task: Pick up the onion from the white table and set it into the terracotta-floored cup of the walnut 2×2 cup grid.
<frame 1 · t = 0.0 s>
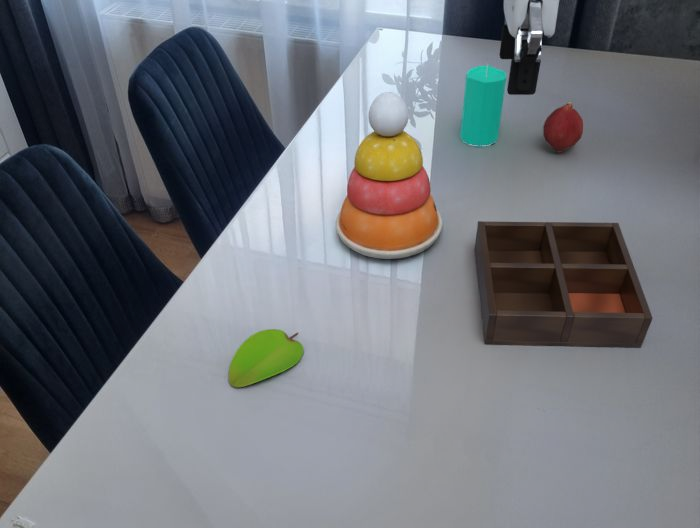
hand: (516, 75, 83), 19 cm above the table, tool pointing down, fingers open, 9 cm apart
stacking toy: (388, 235, 93), on the table
decorative leaf: (269, 360, 77), on the table
onion: (558, 152, 106), on the table
grid: (551, 295, 83), on the table
candle: (478, 139, 110), on the table
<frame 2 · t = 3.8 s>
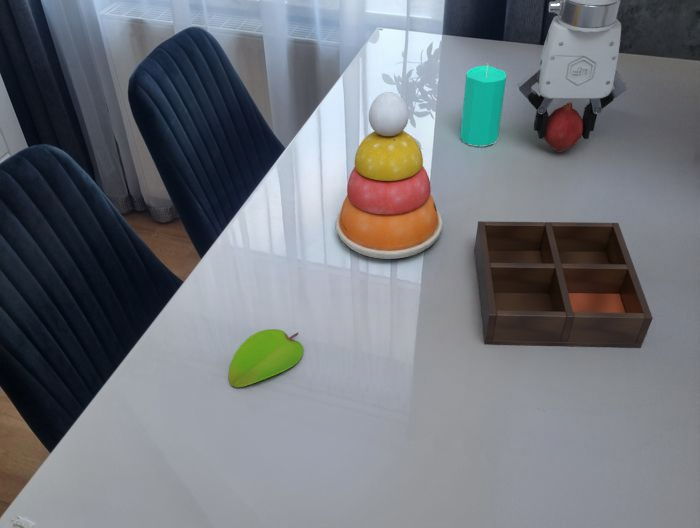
hand: (562, 133, 104), 3 cm above the table, tool pointing down, fingers closed on onion, 5 cm apart
onion: (558, 152, 106), on the table, touching gripper
everything else where it was.
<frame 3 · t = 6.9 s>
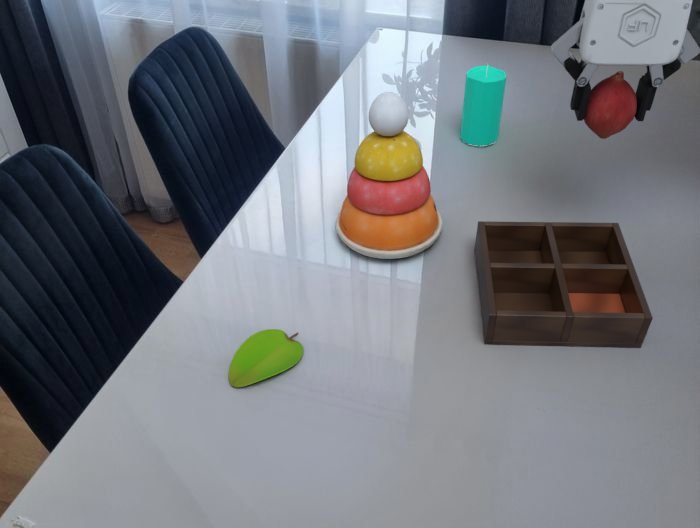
hand: (608, 114, 78), 17 cm above the table, tool pointing down, fingers closed on onion, 5 cm apart
onion: (601, 139, 81), point 14 cm above the table, touching gripper
everything else where it was.
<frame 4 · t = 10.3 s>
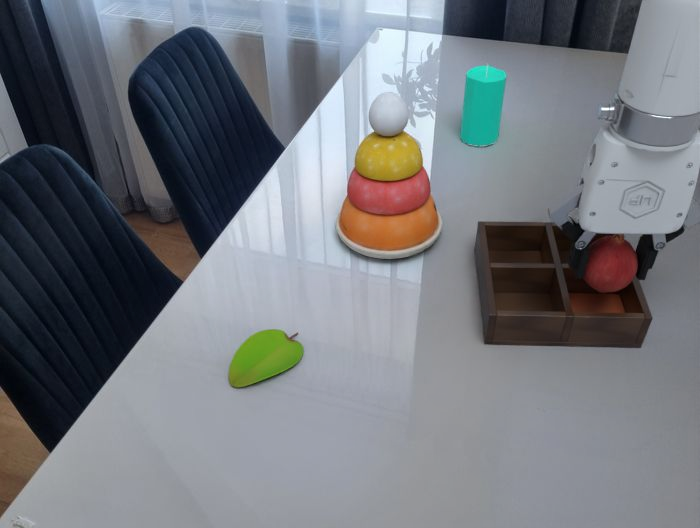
hand: (607, 270, 75), 7 cm above the table, tool pointing down, fingers closed on onion, 5 cm apart
onion: (600, 292, 77), point 4 cm above the table, touching gripper
everything else where it was.
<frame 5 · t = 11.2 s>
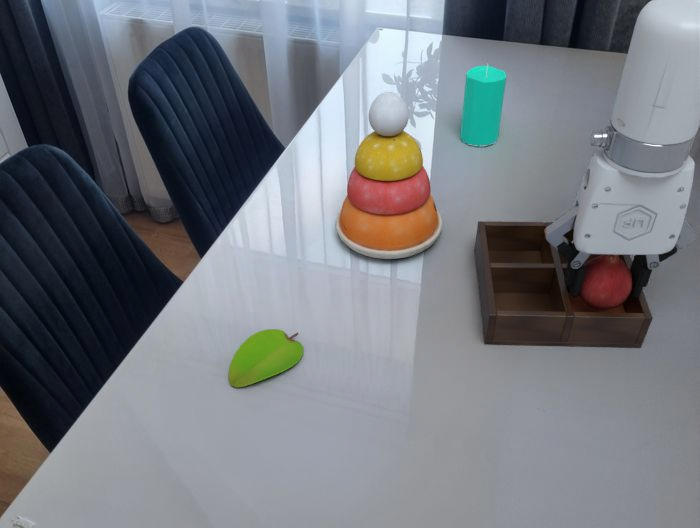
hand: (602, 288, 76), 5 cm above the table, tool pointing down, fingers closed on onion, 5 cm apart
onion: (596, 308, 79), point 2 cm above the table, touching gripper
everything else where it was.
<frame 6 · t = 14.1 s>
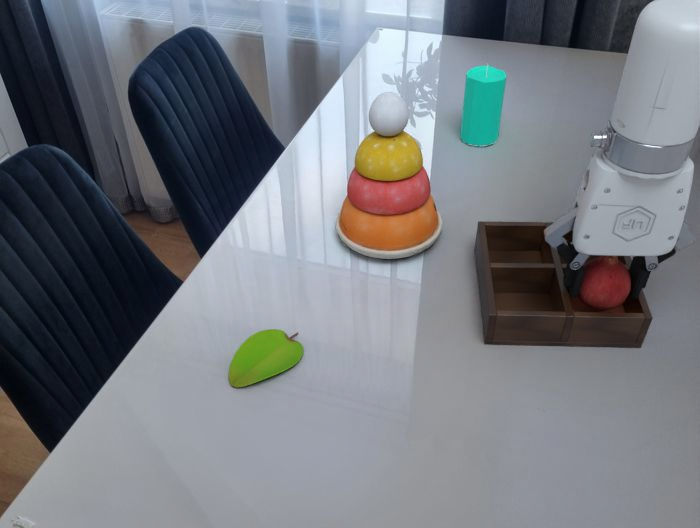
hand: (601, 289, 77), 5 cm above the table, tool pointing down, fingers closed on onion, 5 cm apart
onion: (594, 310, 79), point 1 cm above the table, touching gripper
everything else where it was.
when the fingers open (5 cm above the table, at t = 16.7 s): onion drops 1 cm, resting on grid.
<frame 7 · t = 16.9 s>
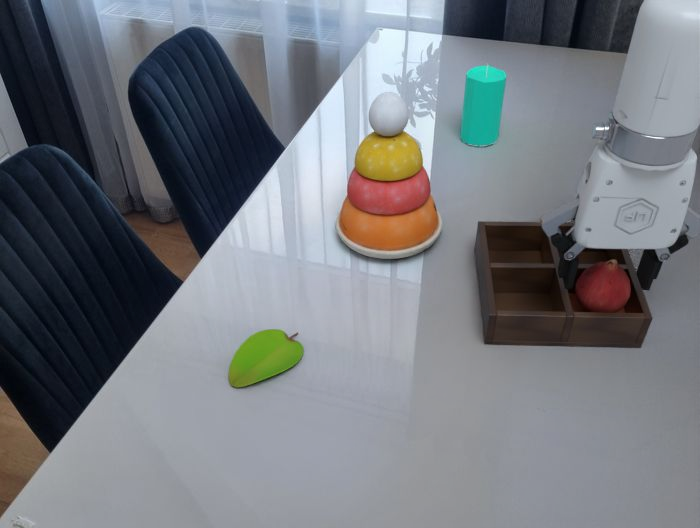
hand: (604, 280, 76), 6 cm above the table, tool pointing down, fingers open, 7 cm apart
onion: (594, 314, 79), point 1 cm above the table, touching grid
everything else where it was.
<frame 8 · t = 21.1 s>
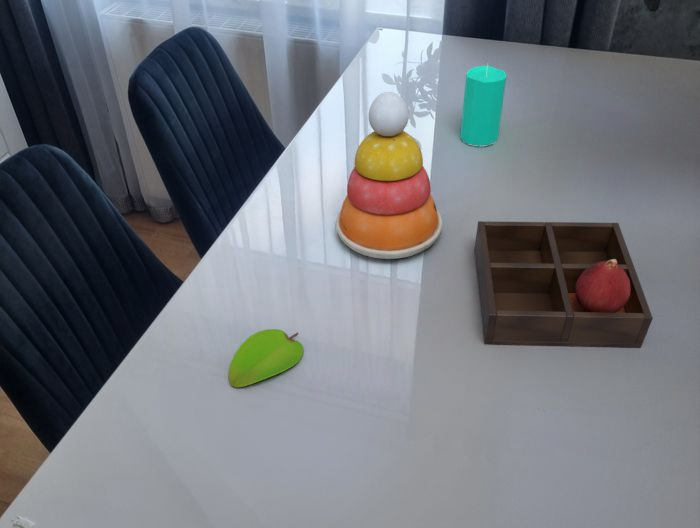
hand: (697, 6, 72), 28 cm above the table, tool pointing down, fingers open, 9 cm apart
nothing on the table moved.
at the end: onion 0.2 cm from the target spot in the grid, point 0.6 cm above the grid's base; the gripper is holding nothing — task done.
